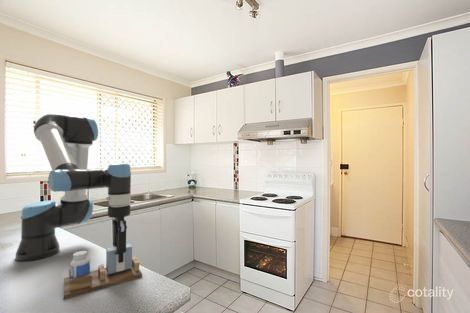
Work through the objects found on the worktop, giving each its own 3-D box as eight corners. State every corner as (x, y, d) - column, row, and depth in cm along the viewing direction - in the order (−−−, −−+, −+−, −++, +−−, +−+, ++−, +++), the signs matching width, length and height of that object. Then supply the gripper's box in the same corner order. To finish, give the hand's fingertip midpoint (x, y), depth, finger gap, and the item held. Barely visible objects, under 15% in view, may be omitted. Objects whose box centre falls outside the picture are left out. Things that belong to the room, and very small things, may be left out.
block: (106, 270, 85) (106, 248, 85) (129, 264, 90) (129, 243, 90) (107, 274, 82) (107, 251, 82) (132, 267, 86) (132, 246, 86)
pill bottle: (93, 277, 81) (93, 249, 82) (83, 285, 76) (83, 256, 76) (77, 277, 81) (77, 249, 81) (66, 286, 76) (66, 256, 76)
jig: (63, 281, 81) (63, 268, 81) (133, 263, 95) (133, 253, 95) (63, 299, 71) (63, 285, 71) (141, 276, 84) (142, 264, 84)
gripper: (104, 202, 91) (104, 262, 90) (111, 210, 77) (111, 281, 76) (125, 200, 95) (125, 257, 95) (135, 207, 81) (135, 274, 81)
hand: (119, 268), depth 86 cm, fingers closed on block, 4 cm apart
